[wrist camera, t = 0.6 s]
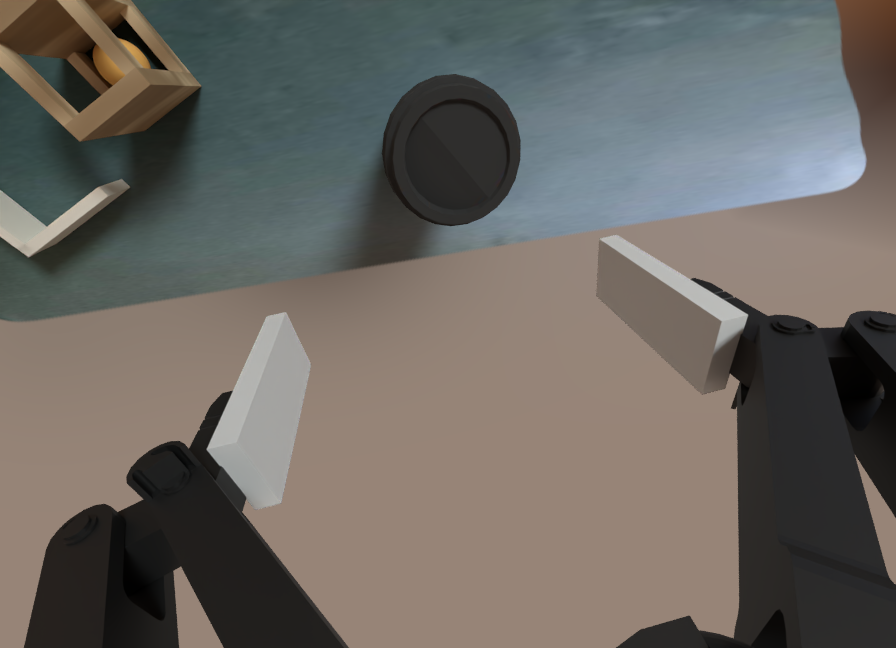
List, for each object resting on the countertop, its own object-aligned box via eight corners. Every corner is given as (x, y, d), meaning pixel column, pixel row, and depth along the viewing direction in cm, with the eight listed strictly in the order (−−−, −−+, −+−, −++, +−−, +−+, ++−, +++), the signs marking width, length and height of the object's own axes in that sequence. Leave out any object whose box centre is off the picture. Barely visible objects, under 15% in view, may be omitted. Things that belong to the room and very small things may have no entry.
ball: (99, 57, 28) (69, 53, 25) (131, 30, 28) (104, 23, 25) (139, 100, 30) (115, 101, 27) (170, 75, 29) (149, 74, 26)
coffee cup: (426, 202, 37) (452, 259, 25) (359, 133, 33) (350, 158, 21) (490, 137, 35) (556, 163, 22) (428, 55, 31) (464, 29, 18)
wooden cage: (63, 45, 27) (-39, 29, 21) (124, -8, 26) (38, -42, 20) (144, 130, 31) (80, 141, 24) (201, 86, 30) (150, 84, 23)
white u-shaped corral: (-99, 124, 28) (-149, 127, 25) (-16, 49, 27) (-60, 44, 24) (56, 244, 34) (28, 257, 31) (130, 187, 32) (108, 195, 30)
